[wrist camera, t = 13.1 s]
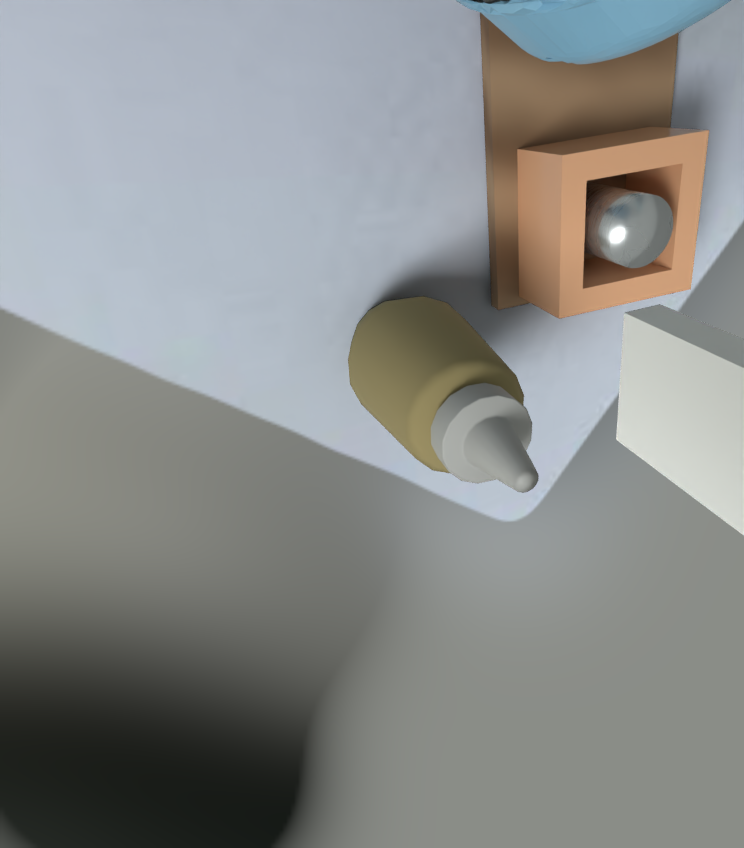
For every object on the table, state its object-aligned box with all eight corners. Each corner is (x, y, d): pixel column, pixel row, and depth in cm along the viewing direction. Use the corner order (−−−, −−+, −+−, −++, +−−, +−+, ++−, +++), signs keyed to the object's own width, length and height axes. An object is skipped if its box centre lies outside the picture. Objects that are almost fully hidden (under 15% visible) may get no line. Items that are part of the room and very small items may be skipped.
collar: (517, 149, 38) (562, 155, 34) (650, 126, 40) (709, 129, 36) (518, 296, 43) (559, 318, 38) (639, 270, 44) (690, 289, 40)
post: (554, 188, 40) (611, 201, 35) (611, 177, 41) (676, 188, 36) (553, 252, 42) (608, 274, 37) (608, 241, 43) (669, 260, 38)
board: (479, -16, 35) (487, -18, 34) (672, -39, 37) (684, -42, 36) (491, 305, 44) (498, 310, 43) (648, 270, 46) (657, 274, 45)
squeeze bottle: (461, 285, 42) (634, 392, 27) (439, 399, 46) (582, 554, 30) (341, 276, 40) (455, 389, 24) (327, 398, 43) (420, 565, 28)
